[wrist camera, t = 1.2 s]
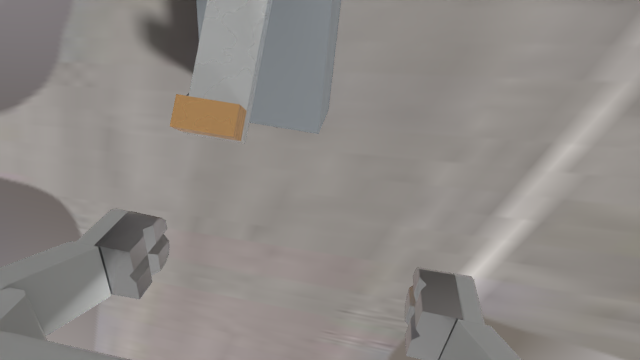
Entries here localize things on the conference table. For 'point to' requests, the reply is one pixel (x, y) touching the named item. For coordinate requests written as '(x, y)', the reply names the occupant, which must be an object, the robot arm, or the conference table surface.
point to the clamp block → (294, 63)
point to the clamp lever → (224, 71)
